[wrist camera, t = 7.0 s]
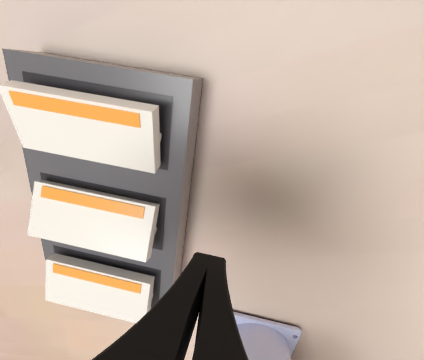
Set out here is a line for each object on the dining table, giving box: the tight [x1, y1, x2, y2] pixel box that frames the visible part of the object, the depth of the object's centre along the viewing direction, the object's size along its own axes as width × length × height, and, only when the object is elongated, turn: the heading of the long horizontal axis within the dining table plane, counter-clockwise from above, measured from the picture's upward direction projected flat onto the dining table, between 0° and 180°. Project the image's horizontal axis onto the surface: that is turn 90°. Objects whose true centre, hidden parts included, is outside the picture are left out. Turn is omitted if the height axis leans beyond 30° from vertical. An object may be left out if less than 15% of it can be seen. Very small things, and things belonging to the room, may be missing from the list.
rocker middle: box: [27, 180, 160, 262], centre depth 18 cm, size 4×9×1 cm, turn 82°
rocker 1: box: [0, 80, 162, 174], centre depth 15 cm, size 4×9×1 cm, turn 81°
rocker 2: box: [45, 253, 155, 323], centre depth 21 cm, size 4×9×1 cm, turn 82°
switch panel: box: [2, 49, 203, 308], centre depth 20 cm, size 21×12×3 cm, turn 172°
